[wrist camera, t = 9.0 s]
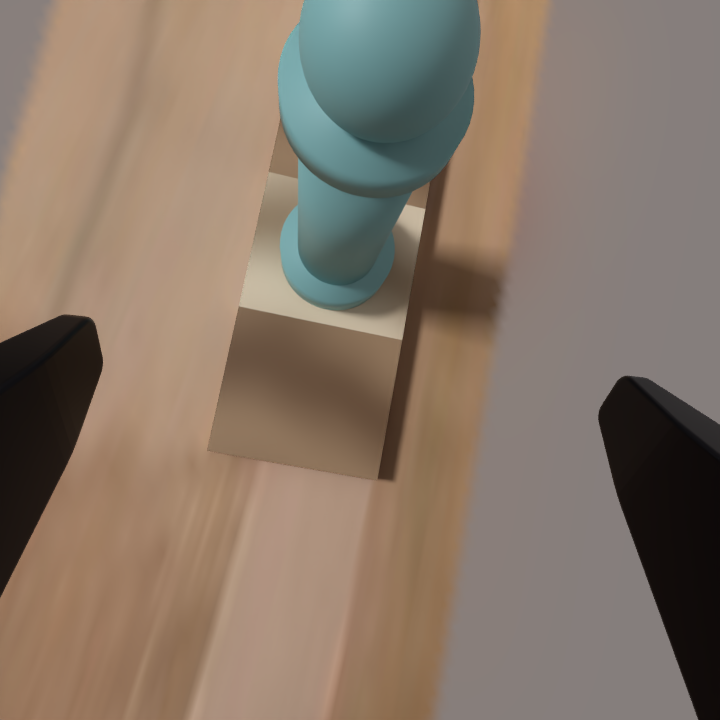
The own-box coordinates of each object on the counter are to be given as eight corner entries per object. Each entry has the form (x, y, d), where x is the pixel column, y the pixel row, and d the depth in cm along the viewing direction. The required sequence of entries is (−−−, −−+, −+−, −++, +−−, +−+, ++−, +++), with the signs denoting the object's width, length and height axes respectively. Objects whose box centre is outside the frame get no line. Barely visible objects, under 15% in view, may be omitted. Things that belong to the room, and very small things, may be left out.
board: (374, 477, 21) (377, 480, 20) (210, 449, 20) (206, 450, 20) (461, -14, 24) (467, -29, 23) (321, -55, 23) (322, -71, 22)
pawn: (348, 331, 21) (451, 176, 7) (259, 268, 21) (180, -23, 7) (408, 247, 21) (608, -46, 8) (322, 185, 21) (369, -232, 7)
